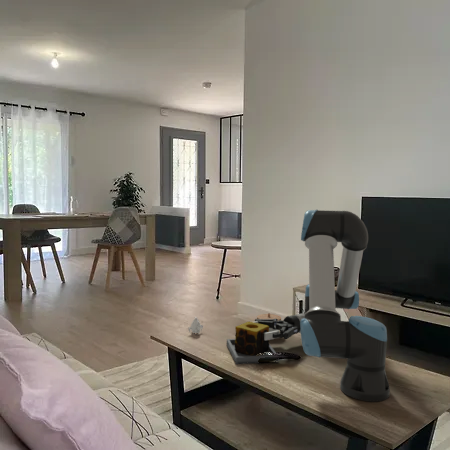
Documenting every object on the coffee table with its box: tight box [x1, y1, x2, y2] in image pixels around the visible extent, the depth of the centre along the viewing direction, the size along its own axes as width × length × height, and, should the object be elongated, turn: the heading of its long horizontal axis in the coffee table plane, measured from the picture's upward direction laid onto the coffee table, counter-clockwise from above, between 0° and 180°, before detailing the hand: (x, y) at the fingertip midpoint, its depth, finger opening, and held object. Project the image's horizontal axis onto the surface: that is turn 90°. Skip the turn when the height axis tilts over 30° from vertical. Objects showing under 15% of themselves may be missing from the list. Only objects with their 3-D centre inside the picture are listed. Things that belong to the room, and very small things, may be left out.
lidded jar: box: [256, 313, 282, 332], centre depth 197 cm, size 11×11×9 cm
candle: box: [234, 321, 270, 356], centre depth 173 cm, size 10×10×10 cm
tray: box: [226, 338, 279, 365], centre depth 173 cm, size 20×16×2 cm
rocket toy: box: [187, 316, 204, 335], centre depth 195 cm, size 5×5×8 cm
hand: (254, 331), depth 173 cm, fingers open, 13 cm apart
